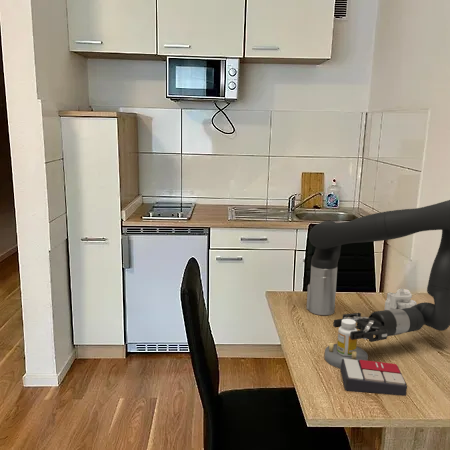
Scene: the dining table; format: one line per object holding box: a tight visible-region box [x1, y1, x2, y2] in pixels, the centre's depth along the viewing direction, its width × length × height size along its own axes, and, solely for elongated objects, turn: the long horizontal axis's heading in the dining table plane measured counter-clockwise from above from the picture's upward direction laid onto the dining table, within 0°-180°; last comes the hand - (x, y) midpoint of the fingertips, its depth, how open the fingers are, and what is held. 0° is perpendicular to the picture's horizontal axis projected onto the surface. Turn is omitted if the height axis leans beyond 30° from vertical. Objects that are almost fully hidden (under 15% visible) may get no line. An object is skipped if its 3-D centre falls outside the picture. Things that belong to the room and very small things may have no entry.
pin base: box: [324, 341, 369, 370], centre depth 136 cm, size 12×12×4 cm
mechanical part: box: [383, 287, 418, 310], centre depth 162 cm, size 11×12×12 cm
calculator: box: [340, 359, 408, 397], centre depth 124 cm, size 11×4×15 cm
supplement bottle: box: [336, 318, 358, 357], centre depth 135 cm, size 5×5×10 cm
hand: (342, 329), depth 134 cm, fingers open, 8 cm apart
